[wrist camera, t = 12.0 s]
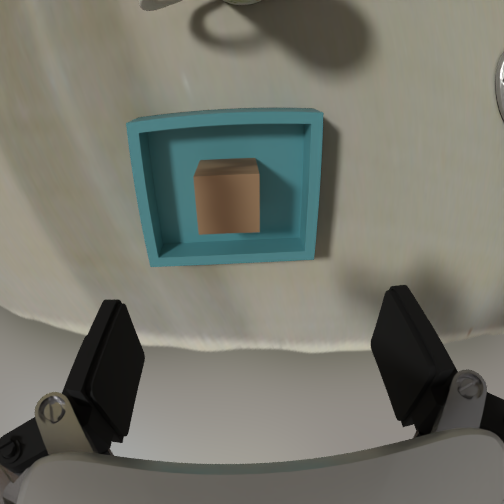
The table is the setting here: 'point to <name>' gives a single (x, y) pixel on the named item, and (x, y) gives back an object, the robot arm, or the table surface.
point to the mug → (149, 3)
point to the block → (227, 196)
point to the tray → (228, 147)
